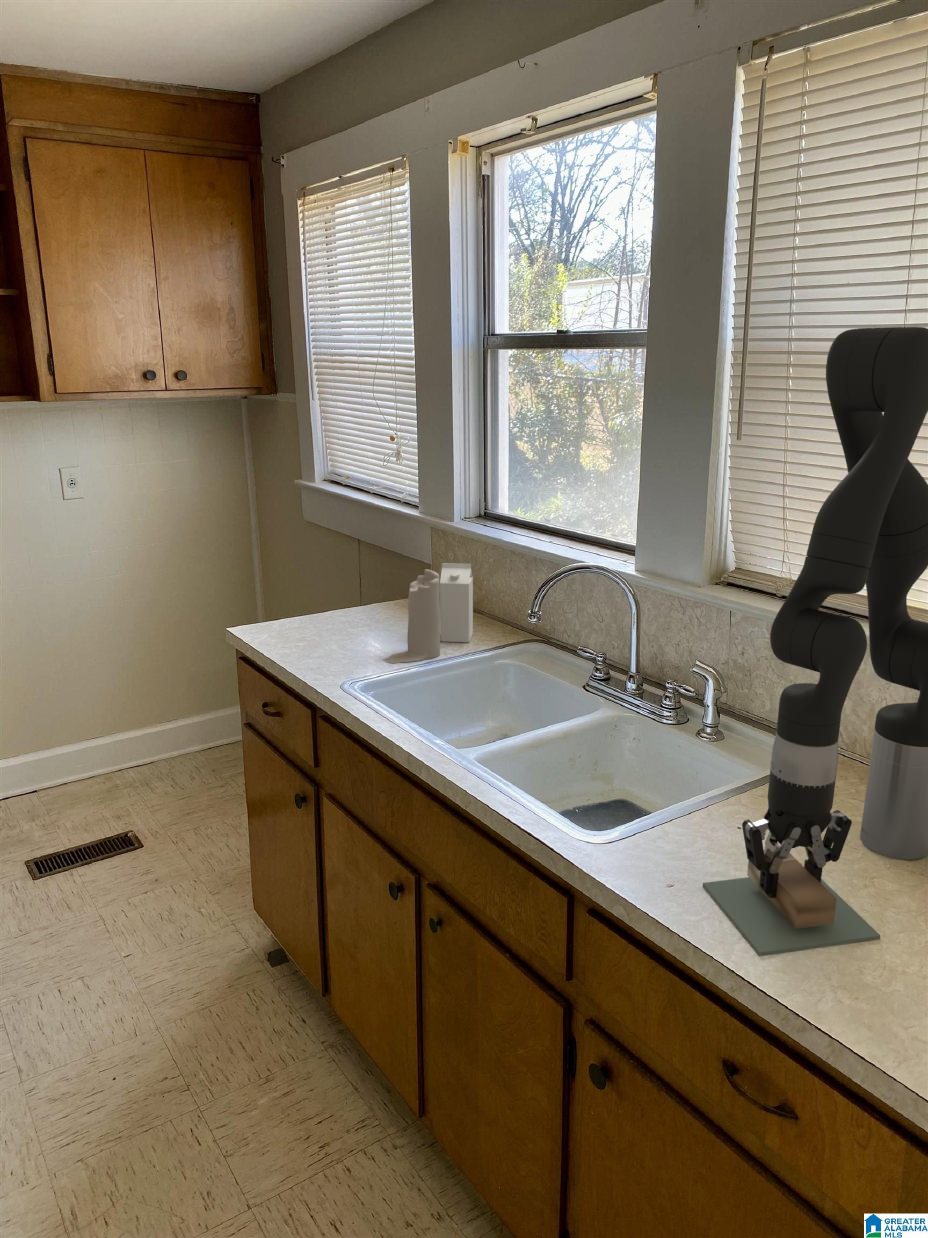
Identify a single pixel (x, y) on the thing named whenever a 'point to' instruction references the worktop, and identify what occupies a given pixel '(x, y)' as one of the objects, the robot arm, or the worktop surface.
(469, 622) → the milk carton
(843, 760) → the worktop surface
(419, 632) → the candle
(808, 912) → the stepped wooden block
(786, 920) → the sage mat
